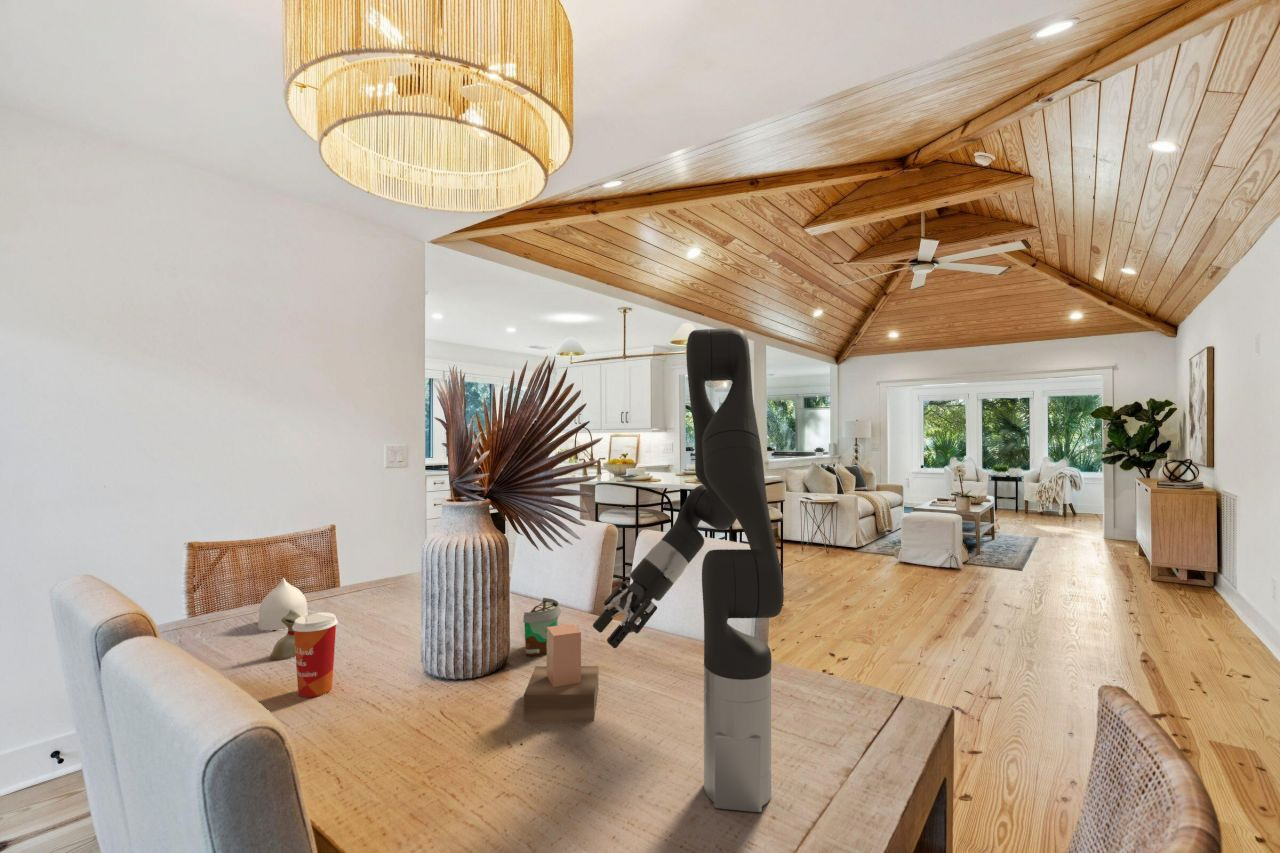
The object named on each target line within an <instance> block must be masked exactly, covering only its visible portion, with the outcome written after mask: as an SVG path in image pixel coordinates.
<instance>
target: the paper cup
mask: <svg viewBox="0 0 1280 853" xmlns="http://www.w3.org/2000/svg"><path fill="white" fill-rule="evenodd" d="M338 623H339V621H338V619H337V617H336V614H334V613H332V612H315V614H313V613H311V614H308V615H306V616H305V617H304V616H301V617H299V618H297V619H296V620H295V622H294V625H293V627H292V630H294V638H295V653H296V657H295V664H296V665H295V666H296V667H295V668H296V678H297V679H296V680H297V681H296V682H297V692H298V696H299V697H300V696H301V698H303V697H306V698H305V699H311V698H310V697H313V698H317V697H316V696H318V697H321V696H320V695H322V696H324V695H326V694H325V693H327V692H328V693H330V692H331V691H332V688H333V678H334V666H335V665H334V664H335V663H334V662H335V649H336V648H335V647H336V630H337V624H338ZM330 690H331V691H330ZM329 691H330V692H329ZM328 693H327V694H328ZM323 694H324V695H323Z"/></svg>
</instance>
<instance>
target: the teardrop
mask: <svg viewBox="0 0 1280 853" xmlns="http://www.w3.org/2000/svg"><path fill="white" fill-rule="evenodd" d="M258 609H259V610H258V622H257V628H259V629H258V630H260V629H261V630H260V631H263V630H279V629H285V628H288V627H287V626H286V625H285V624H284V623H282V621H281V619H282V618H283V617H284V616H286V615H287V614H288V612H289V611H290V610H294V611H295V612H296V613H298V614H299V615H300V616H304V617H305V616H306V615H309V614H308V602H307V599H306V596H305V595H304V593H303V592H302V591H301V590H300V589H299V588H297V587H295V586H294V585H292V584H290V583H289V582H287V580H286V579H285V576H283V577H282V579H281V581H280V583H278V585H277V586H276V587H274V588H273V589H272V590H270V592H269V593H267V594H266V596H265V597H264V598H263V600H262V601H261V603H260V605H259V608H258ZM279 631H280V630H279Z"/></svg>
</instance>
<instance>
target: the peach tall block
mask: <svg viewBox="0 0 1280 853" xmlns="http://www.w3.org/2000/svg"><path fill="white" fill-rule="evenodd" d="M546 666H547V677H548V679H549V681H550V682H551V684H552V686H553V687H557V686H563V685H569V684H575V683H581V666H582V632H581V630H579V628H578V627H577V626H576V624H574V623H568V624H561V625H558V626H551V627H547V655H546Z"/></svg>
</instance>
